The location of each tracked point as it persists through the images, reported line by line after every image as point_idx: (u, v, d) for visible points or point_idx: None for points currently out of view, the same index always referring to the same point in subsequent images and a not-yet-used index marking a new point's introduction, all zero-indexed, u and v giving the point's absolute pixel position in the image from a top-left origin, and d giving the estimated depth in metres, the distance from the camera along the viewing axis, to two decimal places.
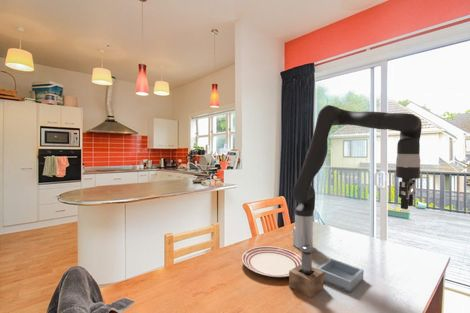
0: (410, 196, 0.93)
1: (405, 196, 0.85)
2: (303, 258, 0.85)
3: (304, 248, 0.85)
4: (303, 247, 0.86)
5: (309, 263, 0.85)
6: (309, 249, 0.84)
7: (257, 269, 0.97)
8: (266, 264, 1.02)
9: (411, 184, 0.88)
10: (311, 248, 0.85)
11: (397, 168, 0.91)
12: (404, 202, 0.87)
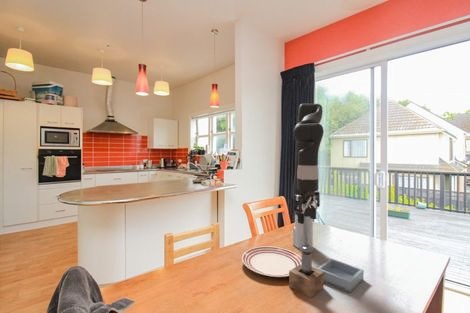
0: (313, 209, 0.88)
1: (298, 210, 0.81)
2: (303, 258, 0.85)
3: (304, 248, 0.85)
4: (303, 247, 0.86)
5: (309, 263, 0.85)
6: (309, 249, 0.84)
7: (257, 269, 0.97)
8: (266, 264, 1.02)
9: (308, 197, 0.83)
10: (311, 248, 0.85)
11: (297, 180, 0.86)
12: (300, 216, 0.82)
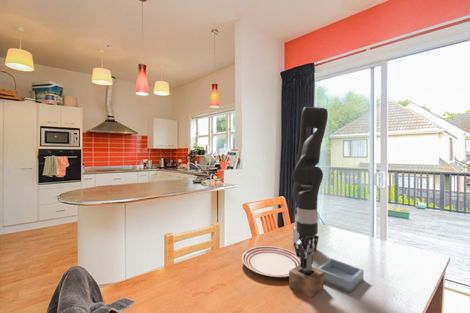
0: None
1: (301, 257, 0.82)
2: None
3: (304, 248, 0.85)
4: None
5: (309, 263, 0.85)
6: (309, 249, 0.84)
7: (257, 269, 0.97)
8: (266, 264, 1.02)
9: (308, 241, 0.84)
10: (311, 248, 0.85)
11: (296, 222, 0.87)
12: (302, 261, 0.84)
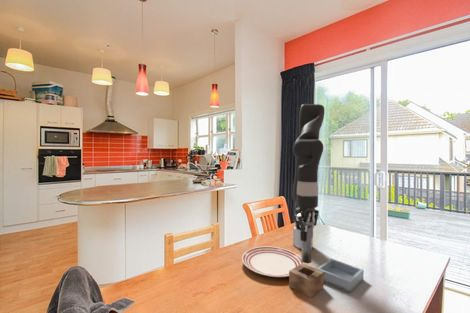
0: None
1: (301, 229, 0.82)
2: None
3: (304, 221, 0.85)
4: (303, 221, 0.86)
5: (309, 236, 0.85)
6: (309, 222, 0.84)
7: (257, 269, 0.97)
8: (266, 264, 1.02)
9: (308, 214, 0.84)
10: (311, 221, 0.85)
11: (297, 196, 0.86)
12: (302, 234, 0.84)
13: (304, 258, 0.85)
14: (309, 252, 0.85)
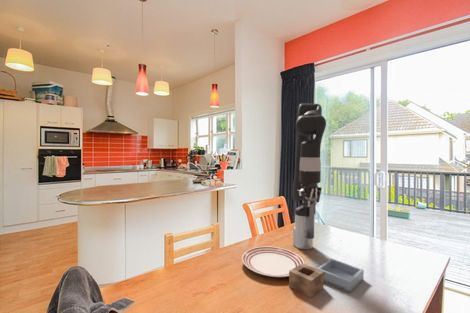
0: None
1: (304, 204, 0.83)
2: None
3: (307, 197, 0.86)
4: (306, 197, 0.86)
5: (312, 212, 0.85)
6: (312, 198, 0.85)
7: (257, 269, 0.97)
8: (266, 264, 1.02)
9: (311, 190, 0.84)
10: (314, 197, 0.85)
11: (299, 172, 0.87)
12: (305, 210, 0.84)
13: (307, 234, 0.85)
14: (312, 228, 0.85)
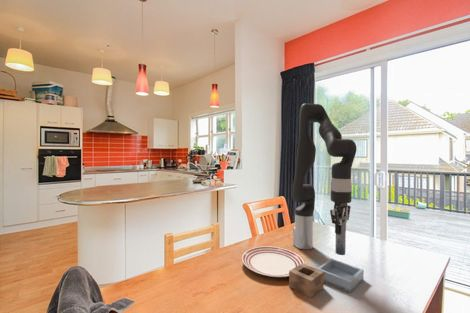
0: None
1: (337, 223, 0.88)
2: None
3: (339, 216, 0.91)
4: None
5: (344, 230, 0.90)
6: (344, 216, 0.90)
7: (257, 269, 0.97)
8: (266, 264, 1.02)
9: (342, 209, 0.89)
10: (345, 216, 0.91)
11: (331, 192, 0.92)
12: (337, 228, 0.90)
13: (339, 251, 0.91)
14: (343, 245, 0.90)
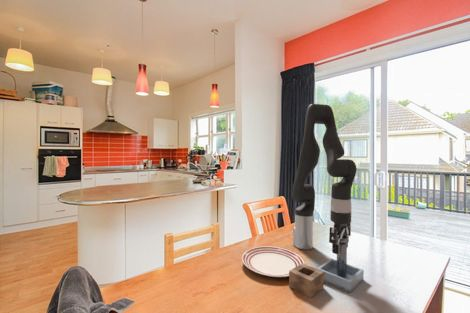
0: None
1: (334, 242, 0.87)
2: (339, 248, 0.92)
3: None
4: None
5: (345, 252, 0.91)
6: (345, 240, 0.91)
7: (257, 269, 0.97)
8: (266, 264, 1.02)
9: (342, 229, 0.89)
10: (346, 239, 0.92)
11: None
12: (334, 247, 0.88)
13: (340, 273, 0.92)
14: (345, 267, 0.92)
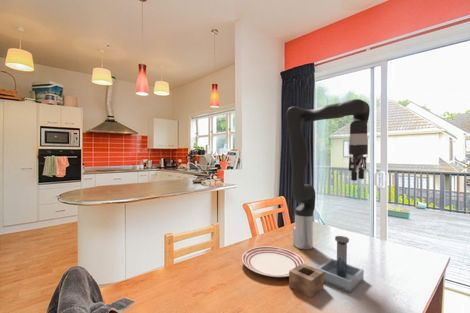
0: (361, 171, 1.08)
1: (353, 169, 1.00)
2: (339, 247, 0.92)
3: (340, 239, 0.92)
4: (338, 238, 0.93)
5: (345, 252, 0.91)
6: (345, 239, 0.91)
7: (257, 269, 0.97)
8: (266, 264, 1.02)
9: (360, 159, 1.03)
10: (346, 239, 0.92)
11: (349, 146, 1.06)
12: (353, 174, 1.02)
13: (340, 273, 0.92)
14: (345, 267, 0.92)
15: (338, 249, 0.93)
